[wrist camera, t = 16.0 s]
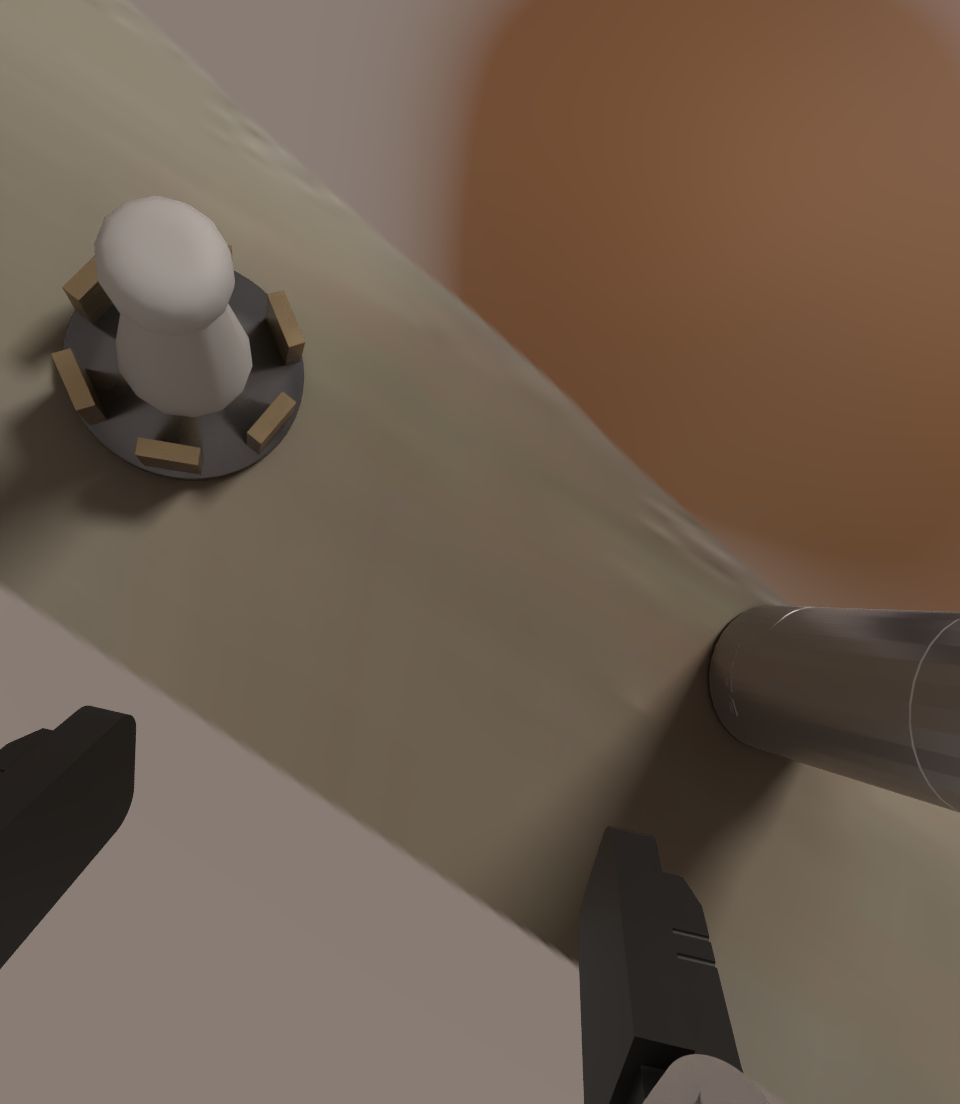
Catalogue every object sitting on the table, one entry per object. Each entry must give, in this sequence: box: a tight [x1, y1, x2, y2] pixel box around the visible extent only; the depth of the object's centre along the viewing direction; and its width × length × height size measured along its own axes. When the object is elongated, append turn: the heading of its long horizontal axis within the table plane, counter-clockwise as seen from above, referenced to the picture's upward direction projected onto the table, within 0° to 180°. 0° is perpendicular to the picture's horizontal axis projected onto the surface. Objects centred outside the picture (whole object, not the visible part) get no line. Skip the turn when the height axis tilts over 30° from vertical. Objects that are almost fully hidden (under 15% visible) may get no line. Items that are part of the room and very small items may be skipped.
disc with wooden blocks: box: [51, 245, 305, 480], centre depth 34 cm, size 11×11×4 cm
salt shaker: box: [94, 196, 253, 417], centre depth 29 cm, size 6×6×13 cm
